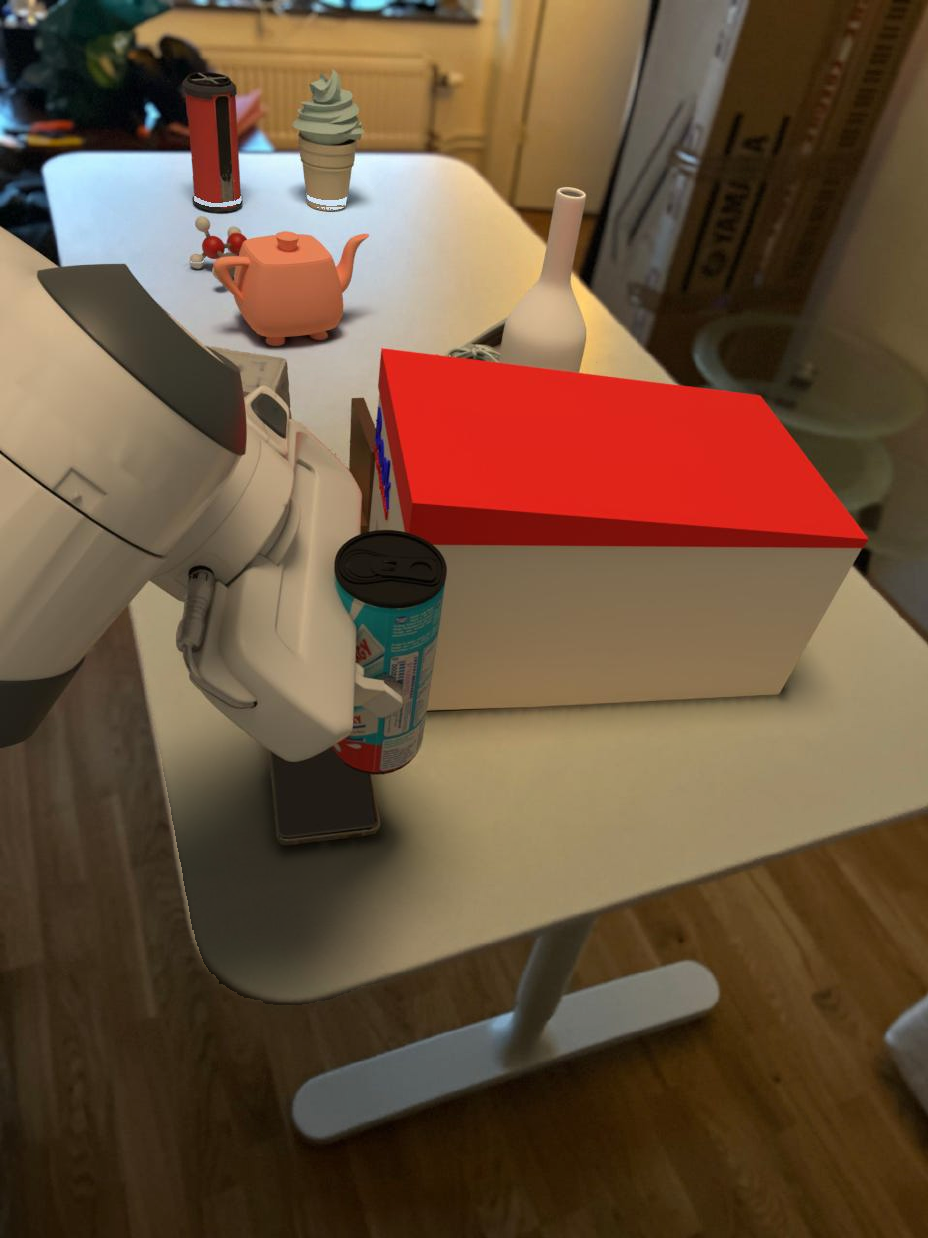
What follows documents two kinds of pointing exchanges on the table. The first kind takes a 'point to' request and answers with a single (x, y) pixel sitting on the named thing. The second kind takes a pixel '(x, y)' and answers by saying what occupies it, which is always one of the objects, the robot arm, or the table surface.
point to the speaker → (213, 139)
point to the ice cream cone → (328, 140)
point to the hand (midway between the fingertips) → (393, 654)
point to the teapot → (289, 284)
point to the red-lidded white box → (604, 532)
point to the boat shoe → (482, 345)
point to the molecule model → (217, 245)
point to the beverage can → (391, 638)
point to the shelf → (362, 456)
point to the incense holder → (260, 372)
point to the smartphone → (321, 799)
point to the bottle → (551, 300)
